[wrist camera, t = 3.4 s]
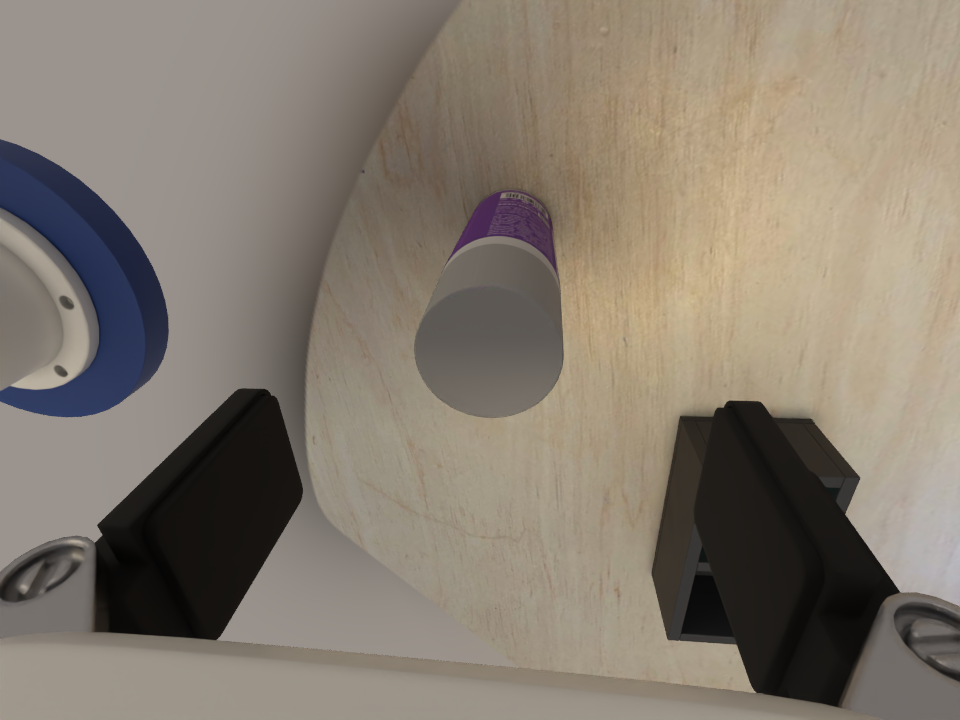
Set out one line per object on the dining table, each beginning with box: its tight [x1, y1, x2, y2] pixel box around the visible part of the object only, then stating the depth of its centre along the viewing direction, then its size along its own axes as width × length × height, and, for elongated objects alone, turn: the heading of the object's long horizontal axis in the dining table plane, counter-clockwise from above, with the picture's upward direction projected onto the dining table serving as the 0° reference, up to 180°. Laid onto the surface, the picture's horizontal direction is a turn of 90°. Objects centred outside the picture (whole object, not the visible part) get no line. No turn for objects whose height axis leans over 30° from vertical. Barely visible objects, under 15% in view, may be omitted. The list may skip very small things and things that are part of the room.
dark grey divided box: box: [652, 417, 860, 644], centre depth 33 cm, size 8×15×6 cm, turn 2°
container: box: [414, 189, 564, 418], centre depth 21 cm, size 5×5×15 cm
